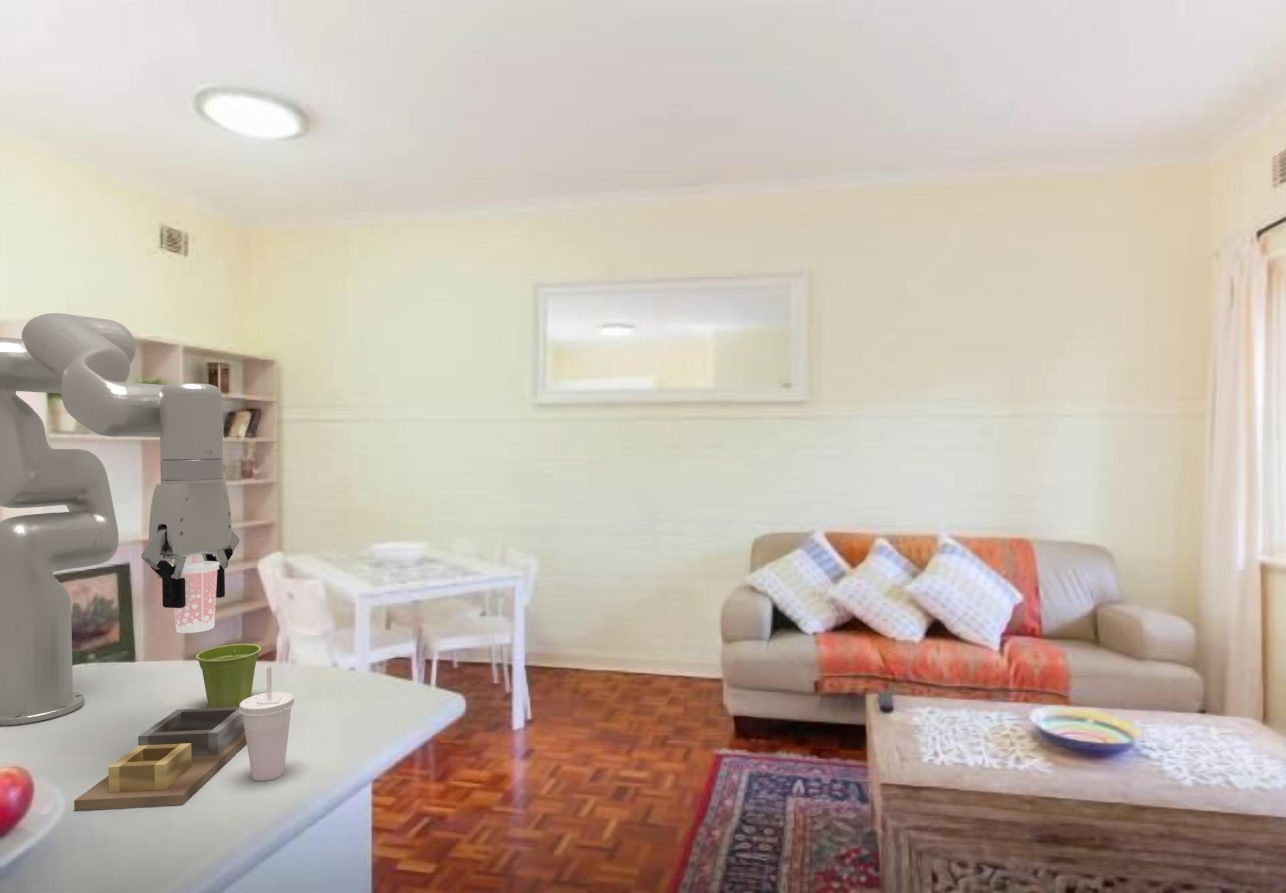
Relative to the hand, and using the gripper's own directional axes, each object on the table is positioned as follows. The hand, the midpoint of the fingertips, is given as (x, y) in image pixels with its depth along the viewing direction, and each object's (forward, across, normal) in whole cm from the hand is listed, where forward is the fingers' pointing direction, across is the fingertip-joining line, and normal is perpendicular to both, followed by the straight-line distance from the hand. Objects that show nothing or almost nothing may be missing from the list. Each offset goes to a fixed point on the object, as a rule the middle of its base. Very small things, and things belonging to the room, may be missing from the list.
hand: (194, 600), depth 106 cm
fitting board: (+21, +5, +2) cm, 22 cm away
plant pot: (+21, -17, -10) cm, 29 cm away
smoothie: (+21, +4, +15) cm, 26 cm away
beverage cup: (+4, 0, 0) cm, 4 cm away
